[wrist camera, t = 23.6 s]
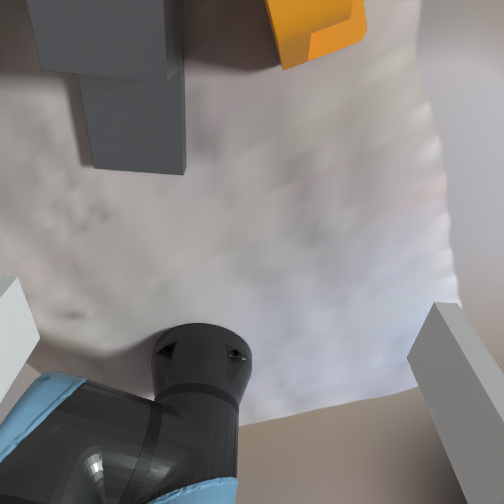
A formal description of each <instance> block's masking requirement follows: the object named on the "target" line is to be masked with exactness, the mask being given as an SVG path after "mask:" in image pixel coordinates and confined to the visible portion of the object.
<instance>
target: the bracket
mask: <svg viewBox="0 0 504 504" xmlns="http://www.w3.org/2000/svg"><path fill="white" fill-rule="evenodd" d="M264 2H265V6H266V10H267V14H268V17H269V21H270V25H271V28H272V32H273V35H274V39H275V43H276V46H277V50H278V54H279V58H280V61H281V65H282V68H283V70H286V69H288V68H291V67H294V66H296V65H299V64H302V63H304V62H307V61H310V60H313V59H315V58H318V57H321V56H323V55H326V54H329V53H331V52H334V51H337V50H339V49H342V48H345V47H347V46H350V45H353V44H355V43H358V42H359V41H361V40H362V38H363V37H364V35H365V33H366V30H367V24H366V17H365V10H364V3H363V0H264Z"/></svg>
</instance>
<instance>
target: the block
mask: <svg viewBox="0 0 504 504" xmlns="http://www.w3.org/2000/svg"><path fill="white" fill-rule="evenodd" d="M26 2H27V6H28V11H29V15H30V20H31V24H32V29H33V33H34V37H35V42H36V46H37V51H38V55H39V60H40V64H41V69H42V71H52V72H63V73H74V74H78V79H79V85H80V90H81V96H82V102H83V108H84V113H85V119H86V125H87V130H88V136H89V142H90V147H91V153H92V159H93V165H94V168H96V169H108V170H121V171H134V172H147V173H160V174H172V175H184V173H185V170H186V128H185V83H184V38H183V0H26Z"/></svg>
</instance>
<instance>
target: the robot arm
mask: <svg viewBox="0 0 504 504" xmlns="http://www.w3.org/2000/svg"><path fill="white" fill-rule="evenodd" d="M39 339H40V336H39V333H38V331H37V328H36V325H35V323H34V320H33V317H32V315H31V312H30V309H29V307H28V304H27V301H26V298H25V296H24V293H23V290H22V288H21V285H20V282H19V280H18V277H8V276H0V402H1V401H2V399H3V398H4V396H5V394H6V393H7V391H8V390H9V388H10V386H11V385H12V383H13V382H14V380H15V378H16V376H17V375H18V373H19V372H20V370H21V369H22V367H23V365H24V364H25V362H26V360H27V359H28V357H29V356H30V354H31V352H32V351H33V349H34V347H35V346H36V344H37V343H38V341H39ZM407 359H408V362H409V364H410V366H411V369H412V371H413V374H414V376H415V378H416V381H417V383H418V385H419V388H420V390H421V392H422V395H423V397H424V400H425V402H426V404H427V407H428V409H429V412H430V414H431V417H432V419H433V421H434V424H435V426H436V428H437V431H438V433H439V435H440V438H441V440H442V443H443V445H444V448H445V450H446V452H447V455H448V457H449V459H450V462H451V464H452V467H453V469H454V471H455V474H456V476H457V479H458V481H459V483H460V486H461V488H462V491H463V493H464V495H465V498H466V500H467V502H468V504H504V374H503V373H502V371H501V370H500V368H499V367H498V365H497V364H496V362H495V361H494V359H493V358H492V356H491V355H490V353H489V351H488V350H487V348H486V347H485V345H484V344H483V342H482V341H481V339H480V338H479V336H478V335H477V333H476V332H475V330H474V329H473V327H472V325H471V324H470V322H469V321H468V319H467V318H466V316H465V315H464V313H463V312H462V310H461V309H460V307H459V306H458V304H456V303H440V302H434V303H433V305H432V307H431V309H430V312H429V314H428V316H427V318H426V320H425V322H424V324H423V326H422V328H421V330H420V332H419V334H418V336H417V338H416V340H415V342H414V344H413V346H412V348H411V350H410V352H409V354H408V356H407ZM151 367H152V377H153V386H154V395H155V398H154V401H151V400H149V399H145V398H142V397H139V396H136V395H133V394H130V393H127V392H124V391H121V390H118V389H115V388H111V387H108V386H105V385H102V384H99V383H96V382H93V381H90V380H89V378H87V377H83V378H80V377H76V376H72V375H69V374H65V373H61V372H56V371H53V372H47V373H45V374H43V375H41V376H40V377H38V378H37V379H36V380H35V381H34V382H33V383H32V384H31V385H30V386H29V388H28V389H27V390H26V391H25V392H24V394H23V395H22V396H21V398H20V399H19V400H18V402H17V403H16V404H15V406H14V407H13V408H12V409H11V411H10V412H9V414H8V415H7V416H6V418H5V419H4V421H3V422H2V423H1V425H0V504H235V498H236V488H237V486H238V480H237V456H238V454H237V453H238V420H239V419H238V417H239V404H240V402H241V399H242V397H243V394H244V392H245V389H246V387H247V384H248V381H249V379H250V376H251V372H252V354H251V350H250V348H249V346H248V345H247V343H246V342H245V341H244V340H243V339H242V338H241V337H240V336H238V335H237V334H235V333H234V332H232V331H230V330H228V329H225V328H222V327H219V326H215V325H209V324H189V325H184V326H180V327H177V328H174V329H172V330H170V331H168V332H167V333H165V334H164V335H163V336H162V337H161V338H160V339H159V340H158V342H157V343H156V346H155V349H154V353H153V356H152V362H151Z"/></svg>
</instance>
